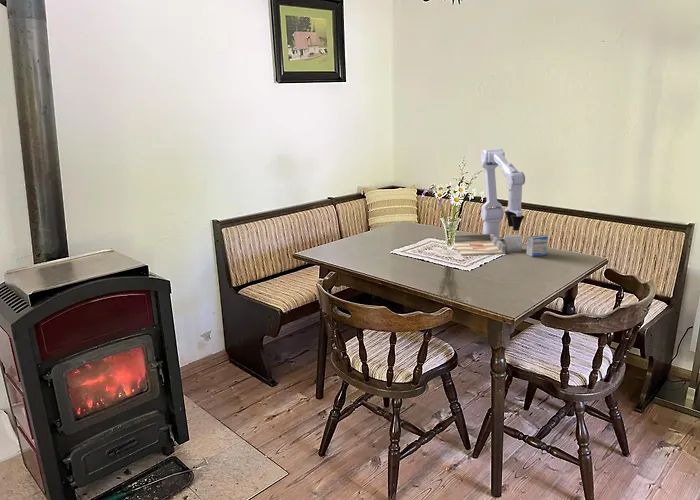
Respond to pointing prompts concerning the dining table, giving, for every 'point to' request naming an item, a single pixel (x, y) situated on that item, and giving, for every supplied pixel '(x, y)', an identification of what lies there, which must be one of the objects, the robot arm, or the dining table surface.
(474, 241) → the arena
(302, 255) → the dining table surface
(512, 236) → the aluminium block
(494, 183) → the robot arm
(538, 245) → the medicine box
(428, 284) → the dining table surface
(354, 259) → the dining table surface
